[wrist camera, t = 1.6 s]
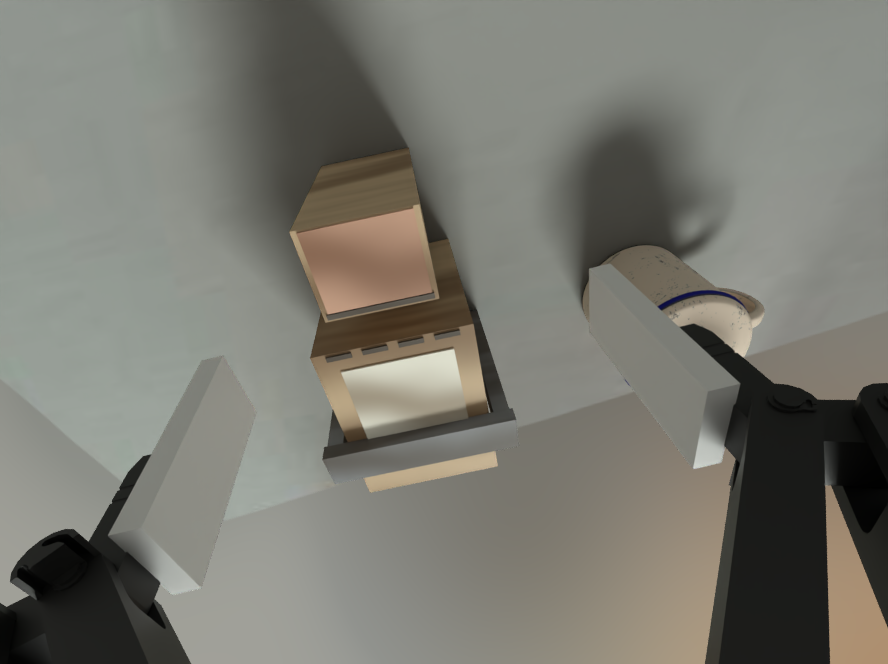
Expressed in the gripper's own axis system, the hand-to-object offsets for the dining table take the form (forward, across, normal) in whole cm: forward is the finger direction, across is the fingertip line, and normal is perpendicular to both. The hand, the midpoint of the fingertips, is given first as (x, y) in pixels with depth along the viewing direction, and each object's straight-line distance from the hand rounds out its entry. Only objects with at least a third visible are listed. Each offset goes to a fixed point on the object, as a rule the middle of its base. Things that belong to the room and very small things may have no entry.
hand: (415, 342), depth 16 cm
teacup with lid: (+18, +19, -12) cm, 29 cm away
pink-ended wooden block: (+19, -1, 0) cm, 19 cm away
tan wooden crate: (+19, -1, -10) cm, 21 cm away
